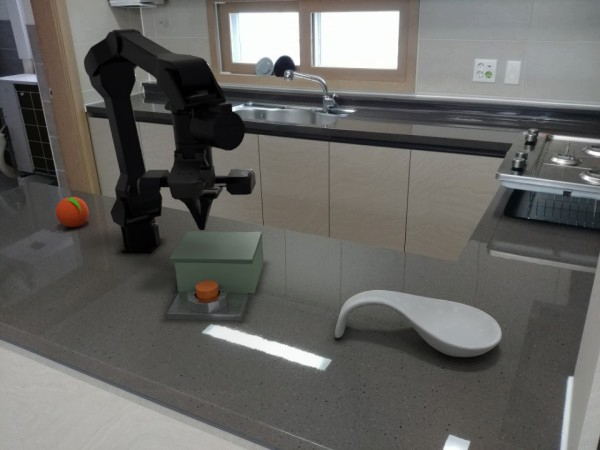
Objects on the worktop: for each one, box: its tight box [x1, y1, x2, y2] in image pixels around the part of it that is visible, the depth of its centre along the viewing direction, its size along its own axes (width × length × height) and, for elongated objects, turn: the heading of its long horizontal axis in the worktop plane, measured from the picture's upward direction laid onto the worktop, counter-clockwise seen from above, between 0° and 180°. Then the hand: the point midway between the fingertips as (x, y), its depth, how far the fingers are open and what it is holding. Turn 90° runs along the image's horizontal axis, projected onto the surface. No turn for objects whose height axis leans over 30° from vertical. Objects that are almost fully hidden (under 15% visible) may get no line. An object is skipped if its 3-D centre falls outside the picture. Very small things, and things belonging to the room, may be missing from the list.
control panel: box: [166, 284, 249, 322], centre depth 89 cm, size 12×7×3 cm, turn 85°
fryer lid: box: [169, 230, 263, 264], centre depth 97 cm, size 14×12×1 cm
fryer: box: [174, 236, 264, 294], centre depth 98 cm, size 14×12×6 cm
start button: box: [196, 280, 219, 300], centre depth 88 cm, size 4×4×2 cm
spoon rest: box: [334, 289, 503, 358], centre depth 78 cm, size 24×12×7 cm, turn 78°
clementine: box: [55, 196, 90, 228], centre depth 122 cm, size 8×7×7 cm
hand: (202, 229), depth 92 cm, fingers closed
